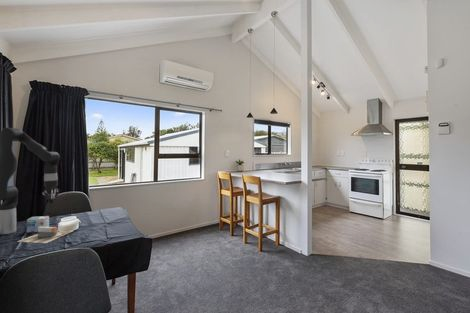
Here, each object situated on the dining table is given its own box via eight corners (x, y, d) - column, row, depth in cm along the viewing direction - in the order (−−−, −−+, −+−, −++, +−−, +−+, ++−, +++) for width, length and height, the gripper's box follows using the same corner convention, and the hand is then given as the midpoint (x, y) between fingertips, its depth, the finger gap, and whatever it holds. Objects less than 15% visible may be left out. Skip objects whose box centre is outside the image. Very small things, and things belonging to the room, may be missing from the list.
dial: (32, 237, 147) (32, 229, 147) (46, 232, 157) (46, 224, 157) (49, 238, 146) (49, 230, 146) (62, 233, 156) (62, 225, 156)
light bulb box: (26, 234, 158) (26, 219, 157) (32, 231, 164) (32, 216, 164) (44, 233, 160) (44, 218, 160) (49, 230, 167) (49, 215, 167)
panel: (16, 243, 142) (16, 241, 142) (48, 231, 164) (48, 229, 164) (46, 245, 140) (46, 242, 140) (74, 232, 162) (74, 230, 162)
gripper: (54, 178, 165) (54, 201, 166) (37, 180, 152) (37, 206, 153) (63, 178, 165) (64, 201, 165) (47, 181, 152) (47, 206, 152)
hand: (51, 203), depth 159 cm, fingers closed
